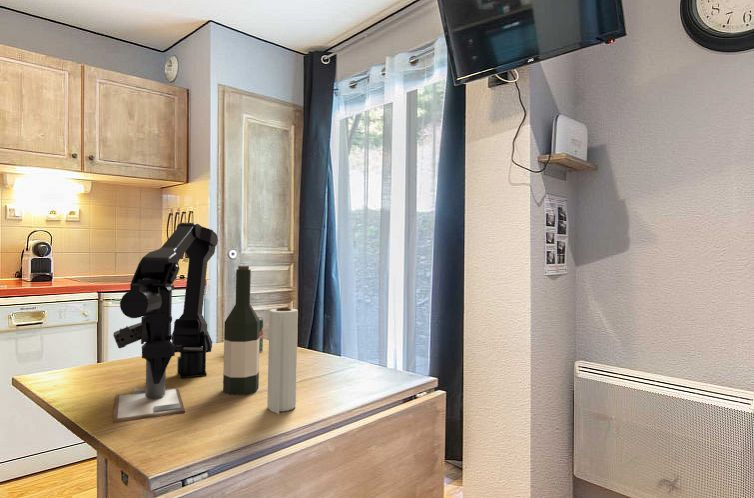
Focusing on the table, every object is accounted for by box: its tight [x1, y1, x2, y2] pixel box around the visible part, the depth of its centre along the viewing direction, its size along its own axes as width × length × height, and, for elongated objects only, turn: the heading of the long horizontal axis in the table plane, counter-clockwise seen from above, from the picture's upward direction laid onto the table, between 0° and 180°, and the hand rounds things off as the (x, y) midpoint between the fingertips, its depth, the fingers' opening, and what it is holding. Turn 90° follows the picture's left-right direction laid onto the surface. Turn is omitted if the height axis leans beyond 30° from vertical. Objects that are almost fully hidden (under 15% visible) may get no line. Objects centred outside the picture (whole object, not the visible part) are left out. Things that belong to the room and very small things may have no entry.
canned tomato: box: [258, 316, 264, 354], centre depth 152 cm, size 8×8×11 cm
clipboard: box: [112, 387, 186, 423], centre depth 100 cm, size 13×17×1 cm
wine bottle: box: [222, 265, 260, 396], centre depth 111 cm, size 8×8×30 cm
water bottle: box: [145, 359, 167, 398], centre depth 104 cm, size 4×4×10 cm
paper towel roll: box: [266, 307, 299, 416], centre depth 100 cm, size 7×6×21 cm
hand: (156, 381), depth 104 cm, fingers closed on water bottle, 4 cm apart
